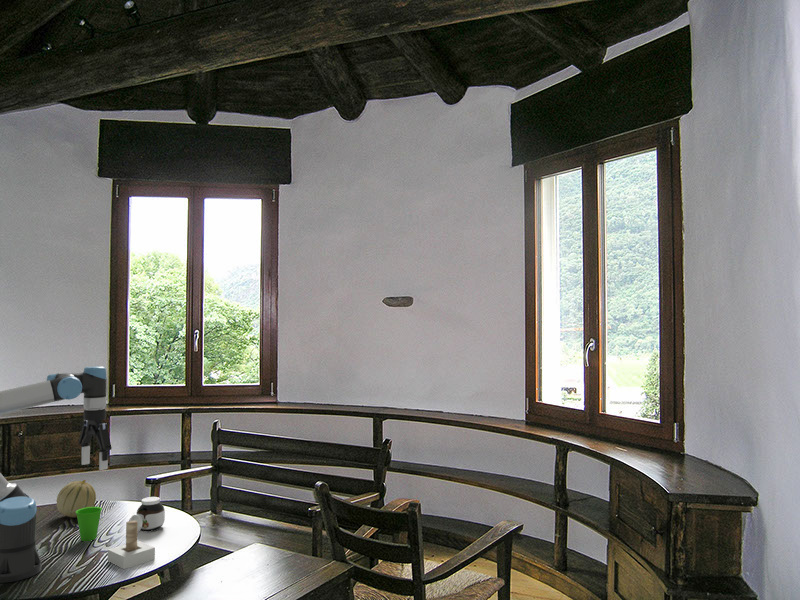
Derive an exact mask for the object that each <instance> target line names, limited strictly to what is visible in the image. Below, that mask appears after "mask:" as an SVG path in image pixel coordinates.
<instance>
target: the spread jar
mask: <svg viewBox="0 0 800 600" xmlns="http://www.w3.org/2000/svg"><path fill="white" fill-rule="evenodd" d="M165 512H166V511H165V506H164V505H163V504H162V503H161V498H160V497H159V496H158V497H157V496H148V497H144V498H142V499H141V505H139V507H138V509H137V510H136V514H133V515H132V516H131V517H130V518H129V519H128V521H138V529H137V534H138V533H140V531H141V532H144V531H151V532H155V531H154V530H156V531H158V530H159V529H160V528H162V527H163V525H164V523H165V519H166V518H165V514H166V513H165ZM157 529H158V530H157Z"/></svg>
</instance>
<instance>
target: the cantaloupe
mask: <svg viewBox="0 0 800 600" xmlns="http://www.w3.org/2000/svg"><path fill="white" fill-rule="evenodd" d="M96 500H97V494H96V490H95V488H94V486H93V485H92V484H91V483H89V482H87V480H86V479H84V480H75V481H71V482H69V483H67V484H66V485H65V486H63V487H62V488H61V489H60V491H59V493H58V494H57V497H56V508H57V510H58V511H59V513H60V514H62V515H64V516H65V517H68V518H77V514H76V511H77V510H79V509H82V508H86V507H95V504H96Z"/></svg>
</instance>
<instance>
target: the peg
mask: <svg viewBox="0 0 800 600" xmlns="http://www.w3.org/2000/svg"><path fill="white" fill-rule="evenodd" d="M125 523H126V524H125V525H126V526H125V544H126V552H131V551H134V550H137V541H138V533H137V529H138V521H129V520H128V521H126V522H125Z"/></svg>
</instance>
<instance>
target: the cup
mask: <svg viewBox="0 0 800 600" xmlns="http://www.w3.org/2000/svg"><path fill="white" fill-rule="evenodd" d="M102 511H103V508H102V507H101V506H93V507H86V508H82V509H79V510H77V511H76V514H77V517H76V518H77V524H78V531H79V536H80V540H82V541H90V542H92V541H91V540H94V539H95V538H96V539H97V536H98V529H99V525H100V519H101V514H102ZM96 539H95V540H96ZM95 540H94V541H95ZM82 541H81V542H82Z"/></svg>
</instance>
